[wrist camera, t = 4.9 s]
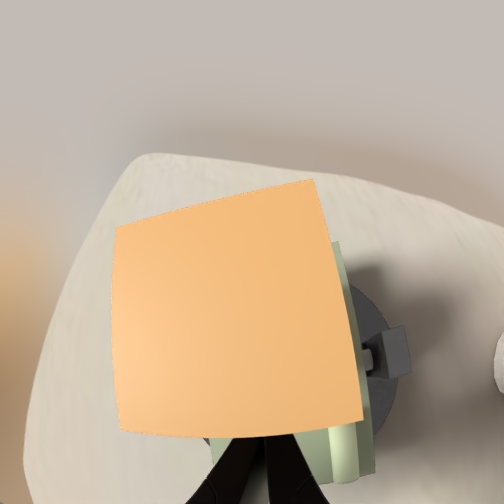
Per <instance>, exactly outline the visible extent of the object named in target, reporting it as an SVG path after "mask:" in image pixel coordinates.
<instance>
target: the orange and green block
mask: <svg viewBox="0 0 504 504" xmlns="http://www.w3.org/2000/svg"><path fill="white" fill-rule="evenodd" d="M111 335H112V358H113V373H114V384H115V394H116V403H117V410H118V417H119V424H120V430H123V431H129V432H136V433H143V434H151V435H161V436H173V437H190V438H209V442H210V448H211V454H212V459H213V465H214V466H215V464H216V463H217V461H218V460H219V458H220V457H221V455H222V454H223V452H224V451H225V449H226V448H227V446H228V445H229V443H230V442H231V440H232V439H233V438H244V437H261V436H273V435H283V434H291V433H293V434H294V436H295V439H296V441H297V443H298V445H299V447H300V449H301V451H302V453H303V455H304V458H305V460H306V462H307V464H308V466H309V468H310V470H311V472H312V475H313V476H314V478H315V480H316V482H317V484H318V485H320V484H327V483H332V482H335V483H339V484H344V483H350V482H353V481H355V480H357V479H358V478H359V477H361V476H365V475H369V474H373V473H375V458H374V443H373V430H372V420H371V410H370V402H369V394H368V386H367V379H366V372H365V371H367V370H371V369H373V358H372V354H371V351H370V349H366V350H362V347H361V342H360V336H359V331H358V326H357V320H356V315H355V311H354V306H353V301H352V297H351V292H350V288H349V283H348V279H347V275H346V271H345V267H344V263H343V259H342V255H341V251H340V247H339V243H338V241H337V242H333V243H331V241H330V237H329V234H328V230H327V226H326V223H325V219H324V215H323V212H322V208H321V205H320V202H319V198H318V195H317V192H316V188H315V185H314V182H313V179H309V180H304V181H299V182H294V183H289V184H284V185H279V186H274V187H270V188H265V189H261V190H256V191H252V192H247V193H243V194H238V195H234V196H230V197H226V198H222V199H218V200H213V201H209V202H206V203H202V204H198V205H194V206H190V207H186V208H182V209H179V210H175V211H171V212H168V213H164V214H161V215H157V216H154V217H150V218H147V219H143V220H140V221H137V222H133V223H130V224H127V225H123V226H120V227H117V228H116V234H115V244H114V256H113V271H112V295H111Z"/></svg>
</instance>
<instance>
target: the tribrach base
mask: <svg viewBox="0 0 504 504" xmlns="http://www.w3.org/2000/svg"><path fill="white" fill-rule="evenodd" d="M349 288H350V292H351V297H352V301H353V306H354V311H355V315H356V320H357V326H358V331H359V336H360V342H361V347H362V350H366V349H370V351H371V354H372V358H373V369H371V370H367V371H365V372H366V379H367V386H368V394H369V402H370V410H371V420H372V430H373V436H374V435H375V434H376V433H377V431H378V430H379V428H380V427H381V425H382V424H383V422H384V421H385V419H386V417H387V415H388V413H389V411H390V408H391V406H392V403H393V400H394V396H395V393H396V387H397V381H398V376H402V375H405V374H408V373H411V372H412V367H411V361H410V355H409V350H408V344H407V339H406V335H405V330H404V325H403V326H399V327H396V328H392V329H389V327H388V325H387V323H386V321H385V319H384V318H383V316H382V314H381V313H380V312H379V310H378V309H377V308H376V307H375V305H374V304H373V303H372V302H371V301H370V300H369V299H368V298H367V297H366V296H365V295H364V294H363V293H362V292H360V291H359V290H358V289H356V288H355V287H353V286H352V285H351V284H349ZM203 439H204V440H205V441H206V442H207V444H208V445H209V446H210V442H209V438H203Z"/></svg>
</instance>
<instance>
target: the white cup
mask: <svg viewBox="0 0 504 504" xmlns="http://www.w3.org/2000/svg"><path fill="white" fill-rule="evenodd" d="M494 379H495V381H496V384H497V386H498V389H499V391H500V392H501V393H503V394H504V331H503V333H502V335H501V337H500V339H499V340H498V342H497V347H496V351H495V356H494Z"/></svg>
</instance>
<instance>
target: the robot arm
mask: <svg viewBox="0 0 504 504" xmlns="http://www.w3.org/2000/svg"><path fill="white" fill-rule="evenodd" d="M206 478H207V479H205V480H204V481H203V483H202V484H201V485H200V487H199V488H198V489H197V491H196V492H195V493H194V494H193V496H192V497H191V498H190V499H189V500H188V501H187V502H186V503H185V504H268V503H269V504H330V503H329V502H328V500H327V499H326V498H325V496H324V495H323V493H322V491H321V489H320V487H319V486H318V484H317V482H316V480H315V478H314V476H313V475H312V472H311V470H310V468H309V466H308V464H307V462H306V460H305V458H304V455H303V453H302V451H301V449H300V447H299V445H298V443H297V441H296V439H295V436H294V434H293V433H291V434H283V435H273V436H261V437H244V438H233V439H232V440H231V442H230V443H229V445H228V446H227V448H226V449H225V451H224V452H223V454H222V455H221V457H220V458H219V460H218V461H217V463H216V464H215V466H214V467H213V469H212V470H211V472H210V473H209V474H208V476H207V477H206ZM0 504H3V503H1V502H0Z"/></svg>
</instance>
